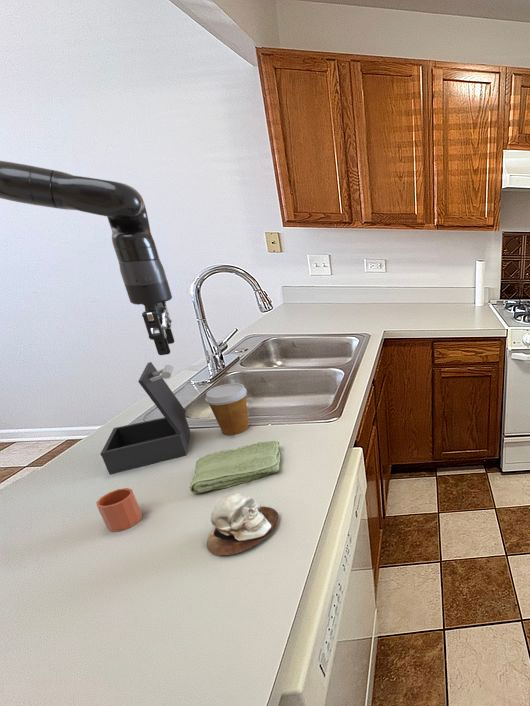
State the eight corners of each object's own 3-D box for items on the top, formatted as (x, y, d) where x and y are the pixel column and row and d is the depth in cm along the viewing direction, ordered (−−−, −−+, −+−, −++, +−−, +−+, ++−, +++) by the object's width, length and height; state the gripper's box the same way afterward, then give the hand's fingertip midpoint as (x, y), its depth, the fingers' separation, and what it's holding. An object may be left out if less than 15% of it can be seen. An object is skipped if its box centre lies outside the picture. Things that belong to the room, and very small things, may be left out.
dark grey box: (109, 474, 91) (100, 453, 89) (121, 447, 101) (113, 427, 99) (186, 455, 98) (179, 435, 95) (190, 431, 108) (184, 413, 106)
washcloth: (282, 474, 91) (280, 462, 90) (190, 499, 83) (186, 486, 82) (280, 445, 102) (277, 434, 100) (198, 465, 94) (194, 453, 93)
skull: (296, 508, 79) (260, 501, 70) (271, 564, 75) (230, 565, 66) (250, 493, 83) (211, 484, 74) (224, 545, 79) (179, 543, 70)
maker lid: (137, 381, 88) (163, 372, 90) (147, 363, 98) (170, 354, 100) (177, 434, 95) (200, 424, 97) (182, 412, 105) (202, 403, 107)
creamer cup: (101, 534, 74) (89, 509, 72) (117, 515, 79) (106, 490, 77) (134, 528, 76) (123, 504, 73) (147, 509, 80) (137, 486, 78)
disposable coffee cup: (229, 420, 113) (219, 382, 109) (262, 420, 113) (253, 382, 109) (207, 438, 105) (194, 398, 100) (242, 439, 104) (231, 398, 100)
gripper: (130, 277, 92) (152, 342, 98) (116, 287, 80) (142, 361, 86) (170, 274, 95) (188, 338, 101) (162, 284, 84) (183, 355, 90)
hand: (167, 348), depth 94 cm, fingers open, 8 cm apart
